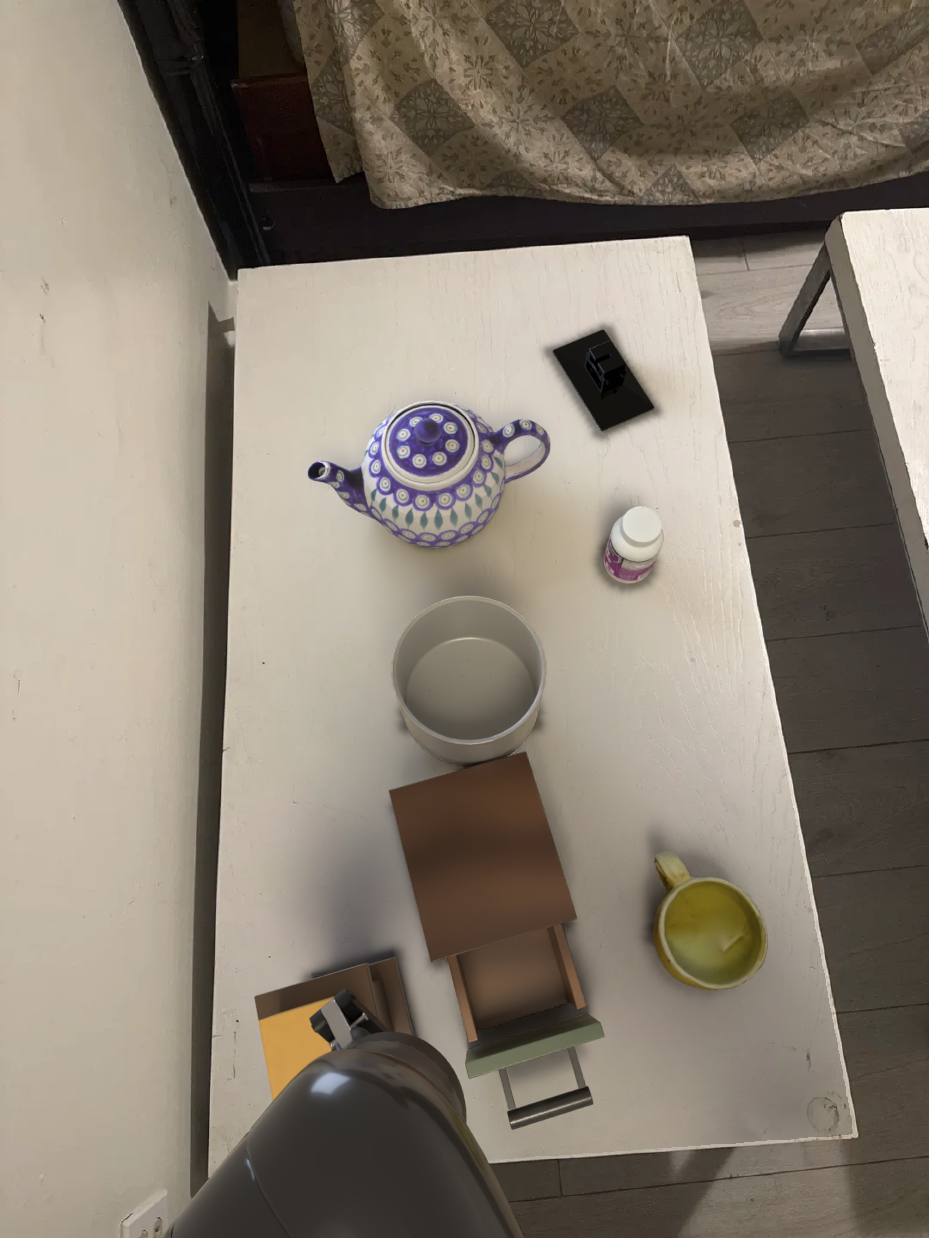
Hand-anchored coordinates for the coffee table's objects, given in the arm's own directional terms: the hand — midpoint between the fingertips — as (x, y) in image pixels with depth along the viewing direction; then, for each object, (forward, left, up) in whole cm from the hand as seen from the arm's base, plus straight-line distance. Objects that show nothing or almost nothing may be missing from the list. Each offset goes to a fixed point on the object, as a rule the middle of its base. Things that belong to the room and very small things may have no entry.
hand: (409, 1075), depth 54 cm
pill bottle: (+39, -32, -27) cm, 58 cm away
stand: (+3, +6, -27) cm, 28 cm away
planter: (+27, -11, -27) cm, 40 cm away
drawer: (+1, -8, -26) cm, 27 cm away
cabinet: (+13, -8, -27) cm, 31 cm away
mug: (+3, -26, -27) cm, 37 cm away
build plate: (+62, -37, -27) cm, 77 cm away
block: (+3, +6, -5) cm, 8 cm away
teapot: (+52, -14, -27) cm, 60 cm away
